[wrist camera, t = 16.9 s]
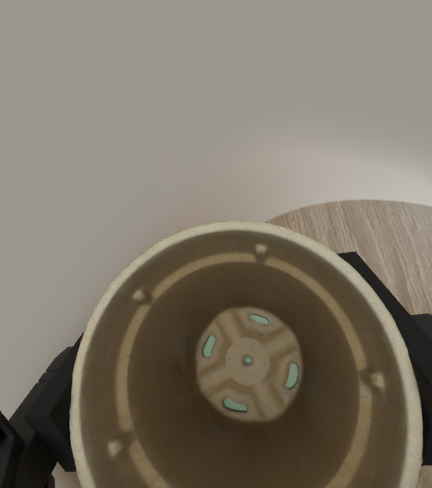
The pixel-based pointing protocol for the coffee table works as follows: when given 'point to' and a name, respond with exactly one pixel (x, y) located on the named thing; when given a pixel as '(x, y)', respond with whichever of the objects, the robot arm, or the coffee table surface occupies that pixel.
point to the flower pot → (243, 371)
